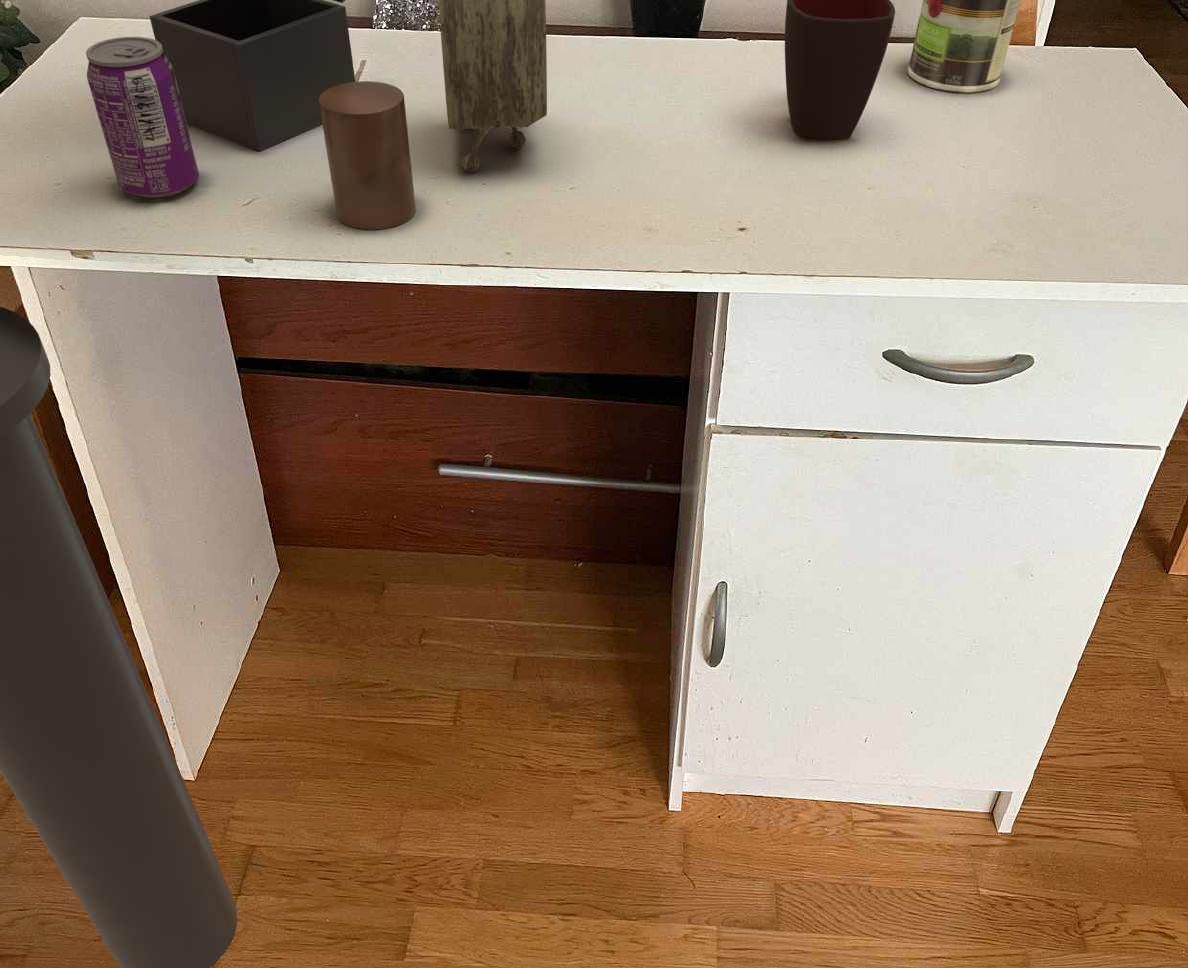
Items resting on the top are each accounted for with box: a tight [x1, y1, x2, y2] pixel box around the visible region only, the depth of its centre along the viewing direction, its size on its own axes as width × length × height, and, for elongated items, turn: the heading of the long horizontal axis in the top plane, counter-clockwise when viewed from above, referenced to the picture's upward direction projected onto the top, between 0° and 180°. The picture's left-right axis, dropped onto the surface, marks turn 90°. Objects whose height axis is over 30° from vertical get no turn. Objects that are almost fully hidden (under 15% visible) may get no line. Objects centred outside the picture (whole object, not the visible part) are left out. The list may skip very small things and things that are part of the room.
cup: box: [784, 0, 896, 142], centre depth 111 cm, size 10×14×12 cm
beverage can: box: [85, 36, 200, 199], centre depth 98 cm, size 7×7×12 cm
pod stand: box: [319, 80, 417, 231], centre depth 96 cm, size 7×7×10 cm
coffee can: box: [907, 0, 1022, 94], centre depth 120 cm, size 10×10×14 cm
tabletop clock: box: [437, 0, 548, 173], centre depth 101 cm, size 14×9×25 cm, turn 6°
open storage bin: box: [149, 0, 356, 152], centre depth 111 cm, size 14×13×10 cm
